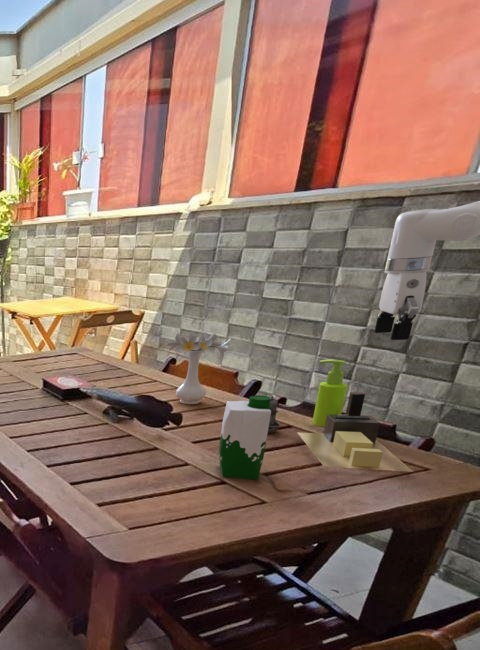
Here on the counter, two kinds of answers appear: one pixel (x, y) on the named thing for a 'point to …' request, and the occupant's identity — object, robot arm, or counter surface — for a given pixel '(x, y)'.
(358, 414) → the knife
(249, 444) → the milk carton
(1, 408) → the counter surface
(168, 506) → the counter surface
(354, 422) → the block
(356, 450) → the butter slice
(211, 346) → the flower vase
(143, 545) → the counter surface
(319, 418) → the soap dispenser
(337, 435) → the butter
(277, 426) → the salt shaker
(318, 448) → the cutting board
